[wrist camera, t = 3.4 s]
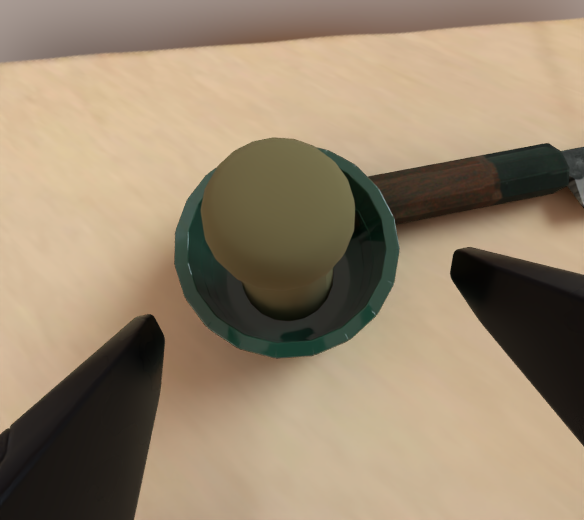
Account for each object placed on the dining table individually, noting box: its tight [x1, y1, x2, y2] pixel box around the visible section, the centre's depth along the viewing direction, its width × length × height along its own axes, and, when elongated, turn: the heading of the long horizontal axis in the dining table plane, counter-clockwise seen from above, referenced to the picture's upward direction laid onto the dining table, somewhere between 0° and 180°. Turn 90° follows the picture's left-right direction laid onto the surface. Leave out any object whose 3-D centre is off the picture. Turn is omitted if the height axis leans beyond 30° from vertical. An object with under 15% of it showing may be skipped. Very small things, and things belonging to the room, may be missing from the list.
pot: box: [174, 147, 399, 358], centre depth 17 cm, size 11×11×5 cm
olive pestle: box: [201, 138, 355, 321], centre depth 14 cm, size 6×6×11 cm
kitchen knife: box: [353, 143, 584, 233], centre depth 20 cm, size 36×2×5 cm
